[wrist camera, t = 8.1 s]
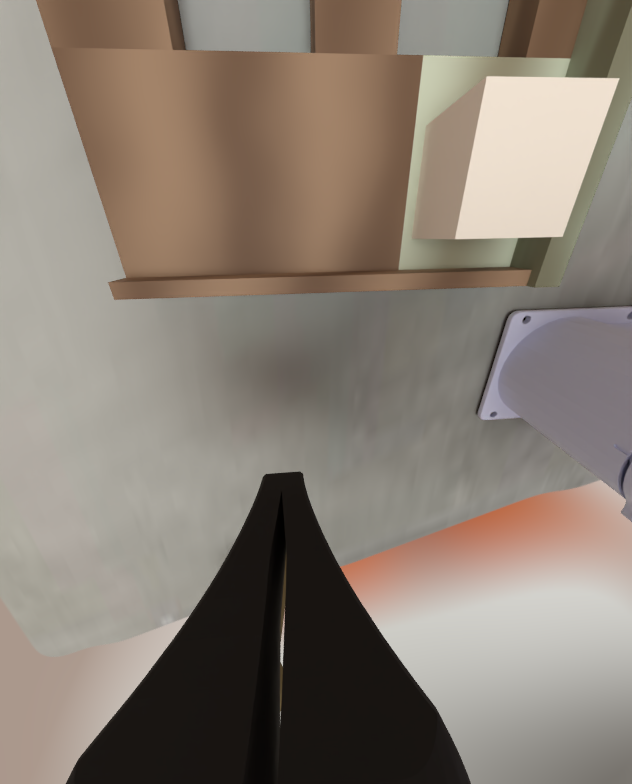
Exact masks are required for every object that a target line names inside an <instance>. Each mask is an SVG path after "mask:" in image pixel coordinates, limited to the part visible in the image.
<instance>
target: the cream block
mask: <svg viewBox="0 0 632 784" xmlns="http://www.w3.org/2000/svg"><path fill="white" fill-rule="evenodd" d="M619 79H620V78H568V77H503V76H487V77H485V78H484V79H483V80H482V81H480V82H479V83H478V84H477V85H476V86H474V87H473V88H472V89H471V90H469V91H468V92H467V93H466V94H464V95H463V96H462V97H461V98H460V99H458V100H457V101H456V102H455V103H453V104H452V105H451V106H450V107H448V108H447V109H446V110H445V111H444V112H442V113H441V114H440V115H439V116H437V117H436V118H435V119H434V120H432V121H431V122H430V123H429V124H428V125H426V129H425V137H424V144H423V152H422V160H421V168H420V175H419V183H418V191H417V199H416V206H415V214H414V222H413V230H412V237H411V239H491V238H534V237H563V234H564V231H565V229H566V226H567V223H568V220H569V217H570V215H571V212H572V209H573V206H574V204H575V201H576V198H577V195H578V192H579V190H580V187H581V184H582V181H583V179H584V176H585V173H586V170H587V167H588V165H589V162H590V159H591V156H592V154H593V151H594V148H595V145H596V142H597V140H598V137H599V134H600V131H601V129H602V126H603V123H604V120H605V117H606V115H607V112H608V109H609V106H610V104H611V101H612V98H613V95H614V92H615V90H616V87H617V84H618V81H619Z"/></svg>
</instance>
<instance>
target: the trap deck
mask: <svg viewBox="0 0 632 784" xmlns="http://www.w3.org/2000/svg"><path fill="white" fill-rule="evenodd" d="M36 2H37V5H38V8H39V11H40V14H41V17H42V20H43V23H44V26H45V29H46V32H47V35H48V38H49V42H50V45H51V48H52V51H53V54H54V57H55V60H56V63H57V66H58V69H59V72H60V75H61V78H62V81H63V85H64V88H65V91H66V94H67V97H68V100H69V103H70V106H71V109H72V112H73V115H74V118H75V121H76V124H77V128H78V131H79V134H80V137H81V140H82V143H83V146H84V149H85V152H86V155H87V158H88V161H89V164H90V167H91V171H92V174H93V177H94V180H95V183H96V186H97V189H98V192H99V195H100V198H101V201H102V204H103V207H104V210H105V214H106V217H107V220H108V223H109V226H110V229H111V232H112V235H113V238H114V241H115V244H116V247H117V250H118V253H119V257H120V260H121V263H122V266H123V269H124V272H125V275H126V278H124V279H120V280H116V281H112V282H108V283H109V286H110V289H111V291H112V294H113V297H114V300H119V299H149V298H178V297H208V296H238V295H268V294H298V293H327V292H357V291H387V290H417V289H446V288H476V287H506V286H530V287H559V286H560V283H561V280H562V278H563V275H564V273H565V270H566V267H567V265H568V262H569V260H570V257H571V254H572V252H573V249H574V247H575V244H576V241H577V239H578V236H579V234H580V231H581V228H582V226H583V223H584V221H585V218H586V215H587V213H588V210H589V208H590V205H591V202H592V200H593V197H594V195H595V192H596V189H597V187H598V184H599V182H600V179H601V176H602V174H603V171H604V169H605V166H606V163H607V161H608V158H609V156H610V153H611V150H612V148H613V145H614V143H615V140H616V137H617V135H618V132H619V130H620V127H621V124H622V122H623V119H624V117H625V114H626V111H627V109H628V106H629V104H630V101H631V98H632V0H509V5H508V10H507V15H506V20H505V25H504V30H503V34H502V39H501V44H500V49H499V54H498V57H475V56H429V55H397V48H398V36H399V24H400V12H401V0H310V19H311V53H290V52H243V51H197V50H186V49H185V43H184V37H183V31H182V25H181V19H180V13H179V7H178V2H177V0H36ZM487 76H503V77H568V78H620V79H619V81H618V84H617V87H616V90H615V92H614V95H613V98H612V101H611V104H610V106H609V109H608V112H607V115H606V117H605V120H604V123H603V126H602V129H601V131H600V134H599V137H598V140H597V142H596V145H595V148H594V151H593V154H592V156H591V159H590V162H589V165H588V167H587V170H586V173H585V176H584V179H583V181H582V184H581V187H580V190H579V192H578V195H577V198H576V201H575V204H574V206H573V209H572V212H571V215H570V217H569V220H568V223H567V226H566V229H565V231H564V234H563V237H534V238H491V239H411V237H412V230H413V222H414V214H415V206H416V199H417V191H418V183H419V175H420V168H421V160H422V152H423V144H424V137H425V129H426V125H428V124H429V123H430V122H431V121H432V120H434V119H435V118H436V117H437V116H439V115H440V114H441V113H442V112H444V111H445V110H446V109H447V108H448V107H450V106H451V105H452V104H453V103H455V102H456V101H457V100H458V99H460V98H461V97H462V96H463V95H464V94H466V93H467V92H468V91H469V90H471V89H472V88H473V87H474V86H476V85H477V84H478V83H479V82H480V81H482V80H483V79H484V78H485V77H487Z"/></svg>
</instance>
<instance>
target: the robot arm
mask: <svg viewBox="0 0 632 784" xmlns="http://www.w3.org/2000/svg"><path fill="white" fill-rule="evenodd" d="M524 317H526V319H525V320H524V321H523V318H524ZM522 321H523V322H522ZM492 412H493V413H492ZM491 413H492V414H491ZM478 417H480V418H481V419H482V420H493V419H508V418H522V419H524V420H525V421H526V422H527V423H529V424H530V425H531V426H533V427H534V428H535V429H536V430H538V431H539V432H540V433H542V434H543V435H544V436H545V437H547V438H548V439H549V440H550V441H552V442H553V443H554V444H556V445H557V446H558V447H559V448H561V449H562V450H563V451H565V452H566V453H567V454H568V455H570V456H571V457H572V458H574V459H575V460H576V461H577V462H579V463H580V464H581V465H583V466H584V467H585V468H586V469H588V470H589V471H590V472H592V473H593V474H594V475H595V476H597V477H598V478H599V479H600V480H602V481H603V482H604V483H606V484H607V485H608V486H609V487H611V488H612V489H613V490H615V491H616V492H617V493H618V494H620V495H621V496H622V497H624V498H625V499H626V504H625V506H624V508H623V509H622V511H621V513H622V514H623V515H624V516H625V517H626V518H628V519H629V520H630V521H631V522H632V306H622V307H597V308H572V309H546V310H521V311H514V312H513V313H511V314H510V315H509V317H508V319H507V322H506V325H505V328H504V331H503V335H502V338H501V341H500V344H499V347H498V350H497V354H496V357H495V360H494V363H493V366H492V369H491V373H490V376H489V379H488V382H487V385H486V388H485V392H484V395H483V398H482V401H481V404H480V407H479V411H478ZM285 561H286V597H285V628H284V653H283V654H284V655H283V678H282V700H281V722H280V634H281V609H282V597H283V585H284V573H285ZM66 784H471V783H470V780H469V777H468V774H467V772H466V769H465V767H464V765H463V762H462V760H461V757H460V755H459V753H458V751H457V748H456V746H455V744H454V742H453V740H452V738H451V736H450V734H449V732H448V730H447V728H446V726H445V724H444V722H443V720H442V718H441V717H440V715H439V713H438V711H437V709H436V707H435V706H434V705H433V703H432V702H431V701H430V699H429V698H428V697H427V696H426V694H425V693H424V692H423V690H422V689H421V688H420V686H419V685H418V684H417V682H416V681H415V680H414V678H413V677H412V676H411V674H410V673H409V672H408V670H407V669H406V668H405V666H404V665H403V664H402V662H401V661H400V660H399V658H398V657H397V655H396V654H395V652H394V651H393V650H392V648H391V647H390V646H389V644H388V643H387V641H386V640H385V638H384V637H383V635H382V634H381V632H380V631H379V629H378V628H377V626H376V625H375V623H374V622H373V621H372V619H371V617H370V616H369V614H368V613H367V611H366V610H365V608H364V607H363V605H362V604H361V602H360V600H359V599H358V597H357V596H356V594H355V592H354V591H353V589H352V587H351V586H350V584H349V582H348V581H347V579H346V577H345V575H344V574H343V572H342V570H341V568H340V566H339V565H338V563H337V561H336V559H335V557H334V555H333V553H332V551H331V549H330V547H329V545H328V543H327V541H326V539H325V537H324V535H323V533H322V530H321V528H320V526H319V524H318V521H317V519H316V516H315V514H314V512H313V509H312V506H311V504H310V501H309V498H308V495H307V491H306V488H305V483H304V478H303V474H302V473H301V472H288V473H275V474H266V475H265V476H263V479H262V482H261V485H260V488H259V491H258V494H257V496H256V499H255V501H254V503H253V506H252V508H251V510H250V512H249V515H248V517H247V519H246V521H245V523H244V525H243V527H242V529H241V531H240V533H239V535H238V537H237V539H236V541H235V543H234V545H233V546H232V548H231V550H230V552H229V554H228V556H227V558H226V559H225V561H224V563H223V564H222V566H221V568H220V570H219V571H218V573H217V575H216V576H215V578H214V580H213V581H212V583H211V584H210V586H209V588H208V589H207V591H206V592H205V594H204V595H203V597H202V598H201V600H200V601H199V603H198V604H197V606H196V607H195V609H194V610H193V612H192V613H191V615H190V616H189V618H188V619H187V621H186V622H185V624H184V625H183V626H182V628H181V629H180V631H179V632H178V633H177V635H176V636H175V638H174V639H173V640H172V642H171V643H170V645H169V646H168V647H167V648H166V650H165V651H164V652H163V654H162V655H161V656H160V658H159V659H158V660H157V662H156V663H155V664H154V666H153V667H152V668H151V670H150V671H149V673H148V674H147V675H146V677H145V678H144V679H143V680H142V682H141V683H140V684H139V685H138V687H137V688H136V689H135V691H134V692H133V693H132V694H131V696H130V697H129V698H128V700H127V701H126V702H125V703H124V704H123V705H122V707H121V708H120V709H119V710H118V711H117V713H116V714H115V715H114V716H113V717H112V719H111V720H110V721H109V722H108V724H107V725H106V726H105V727H104V728H103V730H102V731H101V732H100V733H99V735H98V736H97V737H96V738H95V739H94V741H93V742H92V743H91V744H90V746H89V747H88V748H87V749H86V751H85V752H84V753H83V754H82V755H81V757H80V758H79V759H78V761H77V763H76V765H75V767H74V768H73V771H72V772H71V775H70V776H69V778H68V780H67V783H66Z"/></svg>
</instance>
